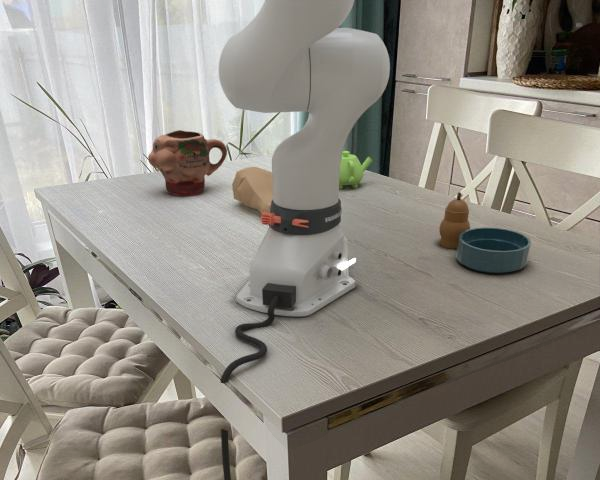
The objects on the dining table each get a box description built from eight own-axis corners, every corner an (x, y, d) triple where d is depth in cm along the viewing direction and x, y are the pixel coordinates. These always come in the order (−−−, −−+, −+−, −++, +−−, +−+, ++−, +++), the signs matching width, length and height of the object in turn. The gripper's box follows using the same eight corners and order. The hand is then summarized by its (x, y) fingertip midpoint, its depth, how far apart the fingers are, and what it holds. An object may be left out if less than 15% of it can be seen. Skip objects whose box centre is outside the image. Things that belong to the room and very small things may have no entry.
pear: (463, 251, 121) (471, 198, 115) (434, 246, 123) (440, 194, 117) (470, 241, 125) (478, 189, 119) (442, 237, 128) (448, 186, 122)
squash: (265, 197, 154) (271, 161, 149) (296, 231, 140) (303, 192, 135) (224, 195, 149) (229, 157, 144) (252, 230, 136) (258, 190, 130)
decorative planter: (220, 180, 167) (216, 125, 159) (236, 191, 158) (232, 133, 150) (148, 189, 160) (140, 133, 152) (160, 202, 151) (152, 142, 143)
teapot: (354, 193, 155) (355, 158, 150) (315, 187, 159) (315, 153, 155) (372, 182, 162) (374, 149, 158) (334, 177, 167) (335, 144, 162)
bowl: (519, 280, 109) (524, 256, 107) (448, 268, 114) (451, 245, 111) (531, 255, 119) (536, 233, 116) (465, 245, 124) (468, 223, 121)
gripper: (286, -80, 105) (287, 11, 116) (394, -88, 110) (386, 1, 120) (275, -87, 109) (278, 2, 120) (380, -95, 114) (374, -8, 124)
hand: (333, 1), depth 120 cm, fingers open, 8 cm apart
